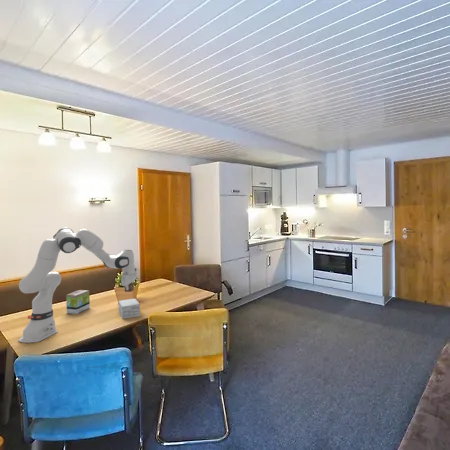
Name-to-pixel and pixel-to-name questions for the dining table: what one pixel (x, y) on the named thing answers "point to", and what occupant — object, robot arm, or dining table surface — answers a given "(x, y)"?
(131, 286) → the walnut block
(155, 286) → the dining table surface
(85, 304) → the tea box
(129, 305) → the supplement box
